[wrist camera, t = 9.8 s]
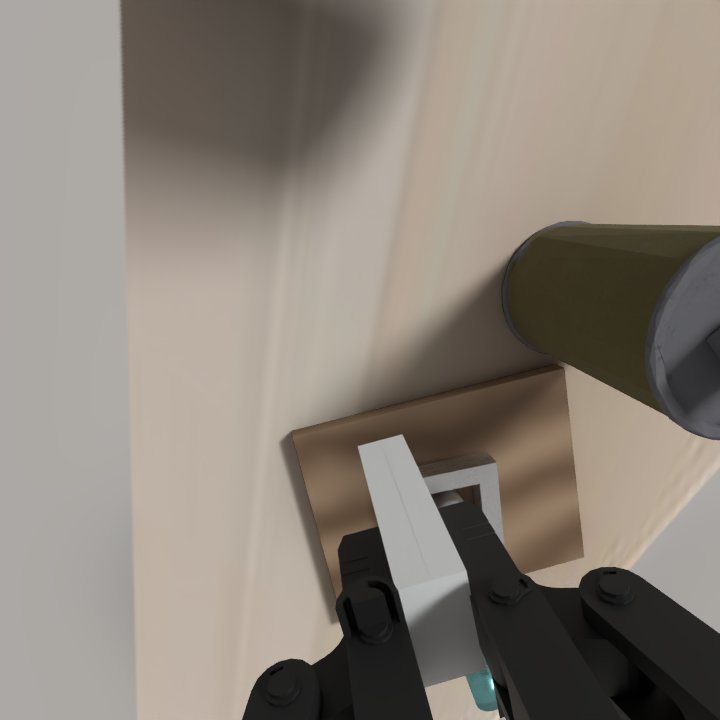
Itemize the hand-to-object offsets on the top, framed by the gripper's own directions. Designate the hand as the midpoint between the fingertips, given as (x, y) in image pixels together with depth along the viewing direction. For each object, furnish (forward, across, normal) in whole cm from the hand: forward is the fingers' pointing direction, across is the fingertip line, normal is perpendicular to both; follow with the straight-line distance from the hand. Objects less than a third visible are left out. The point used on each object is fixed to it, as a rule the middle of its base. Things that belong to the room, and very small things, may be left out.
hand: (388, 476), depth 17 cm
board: (+23, +5, -17) cm, 29 cm away
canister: (+24, +18, -2) cm, 30 cm away
